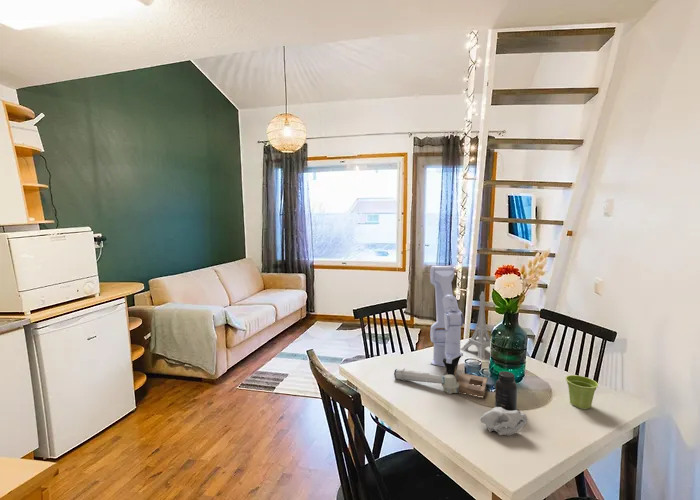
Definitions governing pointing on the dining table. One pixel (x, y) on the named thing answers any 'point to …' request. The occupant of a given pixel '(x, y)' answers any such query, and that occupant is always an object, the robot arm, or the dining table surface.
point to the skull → (504, 420)
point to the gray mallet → (429, 379)
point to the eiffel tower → (481, 327)
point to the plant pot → (581, 390)
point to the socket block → (468, 380)
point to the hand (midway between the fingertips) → (452, 374)
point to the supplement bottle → (506, 391)
